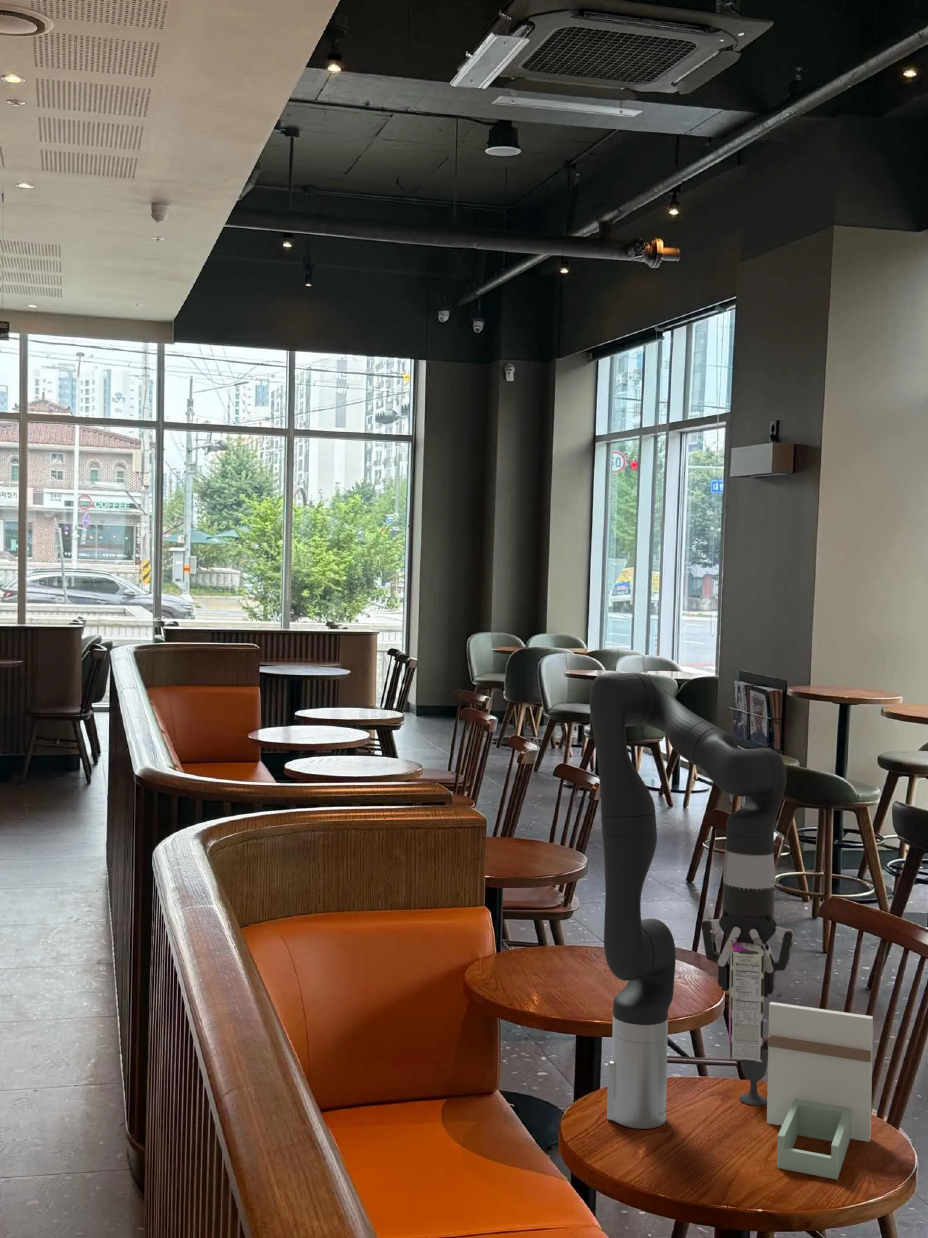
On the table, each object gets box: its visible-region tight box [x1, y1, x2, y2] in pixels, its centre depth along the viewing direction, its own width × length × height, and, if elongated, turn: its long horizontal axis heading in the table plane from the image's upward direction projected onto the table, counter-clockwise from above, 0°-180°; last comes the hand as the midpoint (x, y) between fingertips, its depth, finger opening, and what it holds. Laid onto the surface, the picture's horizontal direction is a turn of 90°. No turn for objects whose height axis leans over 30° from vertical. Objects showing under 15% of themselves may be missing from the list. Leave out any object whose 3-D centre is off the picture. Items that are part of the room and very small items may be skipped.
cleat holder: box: [766, 1001, 874, 1181], centre depth 195 cm, size 16×18×20 cm
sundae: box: [738, 1032, 768, 1107], centre depth 215 cm, size 7×7×15 cm
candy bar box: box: [728, 942, 765, 1062], centre depth 184 cm, size 11×5×16 cm, turn 168°
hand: (746, 992), depth 184 cm, fingers closed on candy bar box, 5 cm apart
